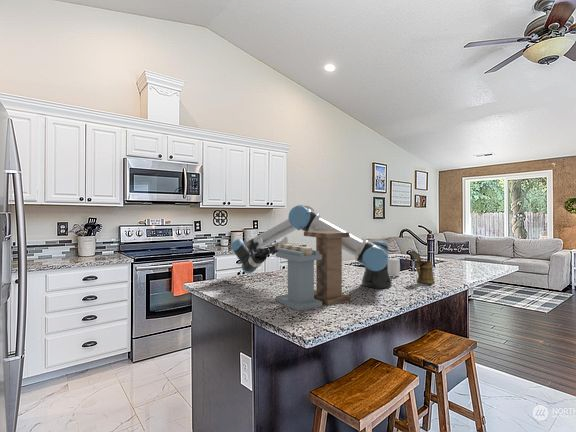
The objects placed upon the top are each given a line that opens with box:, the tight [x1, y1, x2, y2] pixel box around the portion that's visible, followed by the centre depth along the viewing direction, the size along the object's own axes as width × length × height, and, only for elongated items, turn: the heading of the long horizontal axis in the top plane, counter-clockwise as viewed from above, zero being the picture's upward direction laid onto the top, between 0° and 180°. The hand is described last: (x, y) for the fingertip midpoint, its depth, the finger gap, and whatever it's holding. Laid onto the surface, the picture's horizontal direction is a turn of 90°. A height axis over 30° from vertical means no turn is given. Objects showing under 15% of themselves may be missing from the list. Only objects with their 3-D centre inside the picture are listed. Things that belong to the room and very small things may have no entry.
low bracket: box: [275, 248, 323, 312], centre depth 143 cm, size 18×12×23 cm, turn 31°
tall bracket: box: [303, 231, 351, 306], centre depth 151 cm, size 18×12×30 cm, turn 31°
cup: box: [388, 257, 401, 277], centre depth 202 cm, size 8×12×10 cm
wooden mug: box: [410, 249, 436, 285], centre depth 184 cm, size 9×14×18 cm, turn 108°
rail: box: [274, 242, 313, 256], centre depth 147 cm, size 26×3×3 cm, turn 31°
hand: (274, 239), depth 160 cm, fingers open, 13 cm apart
